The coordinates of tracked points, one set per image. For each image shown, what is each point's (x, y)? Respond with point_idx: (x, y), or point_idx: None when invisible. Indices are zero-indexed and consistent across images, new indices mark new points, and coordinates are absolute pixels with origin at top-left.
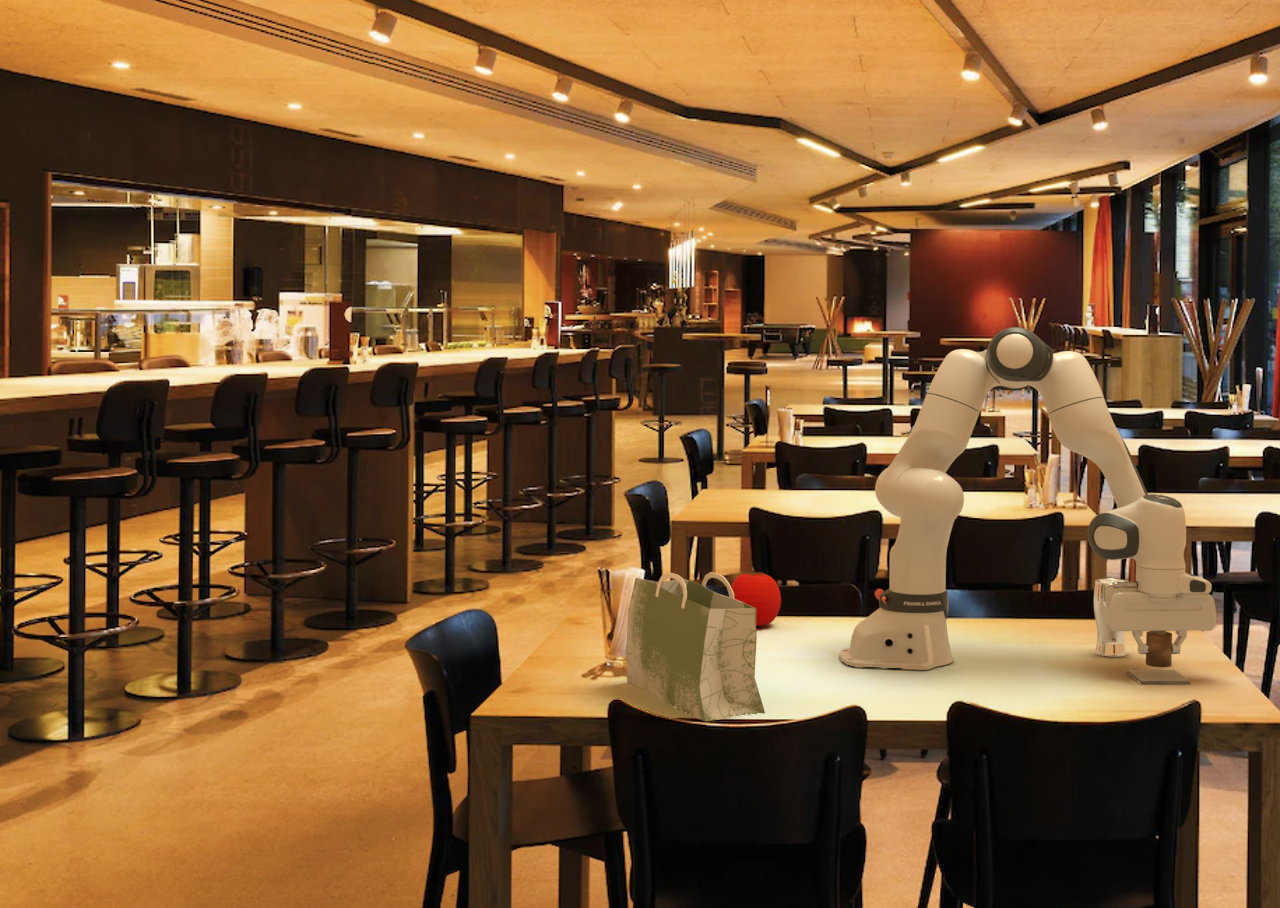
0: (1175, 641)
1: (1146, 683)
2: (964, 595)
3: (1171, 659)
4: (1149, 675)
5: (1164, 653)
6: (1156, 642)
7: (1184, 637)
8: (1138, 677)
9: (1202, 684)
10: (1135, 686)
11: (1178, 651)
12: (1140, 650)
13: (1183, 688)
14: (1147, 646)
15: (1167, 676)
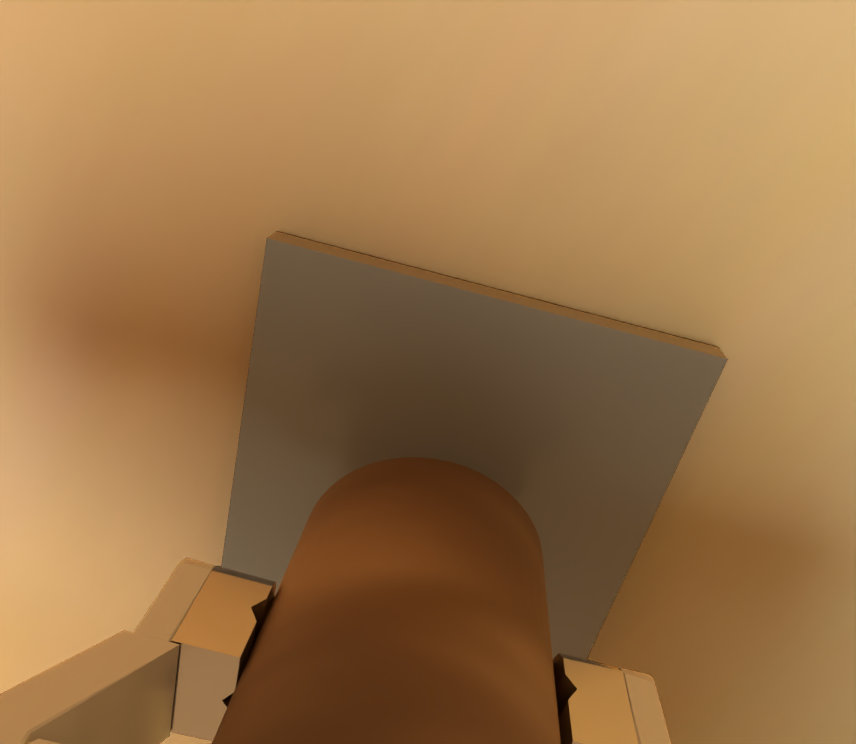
0: (146, 739)
1: (673, 337)
2: None
3: (305, 534)
4: None
5: (416, 553)
6: (514, 716)
7: (6, 710)
8: (655, 476)
9: (165, 196)
10: (828, 294)
11: (195, 576)
12: (660, 708)
13: (422, 92)
14: (585, 730)
15: (383, 438)
